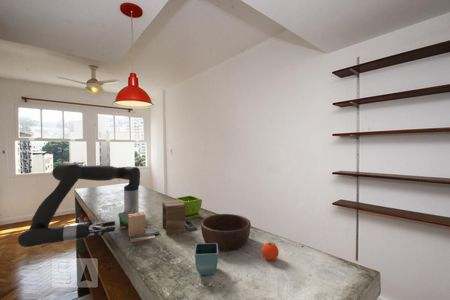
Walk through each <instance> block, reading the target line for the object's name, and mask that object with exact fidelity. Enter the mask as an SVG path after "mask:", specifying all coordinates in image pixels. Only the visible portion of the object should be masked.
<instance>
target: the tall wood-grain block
mask: <svg viewBox="0 0 450 300" xmlns="http://www.w3.org/2000/svg"><path fill="white" fill-rule="evenodd" d="M127 230H128V237H130V236H131V238H137V237H143V236H148V235H158V234H160V231H159V228H158V227H151V228H149V227H148V228H146V213H145V211H143V212H139V213H133V214H128V229H127Z"/></svg>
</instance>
